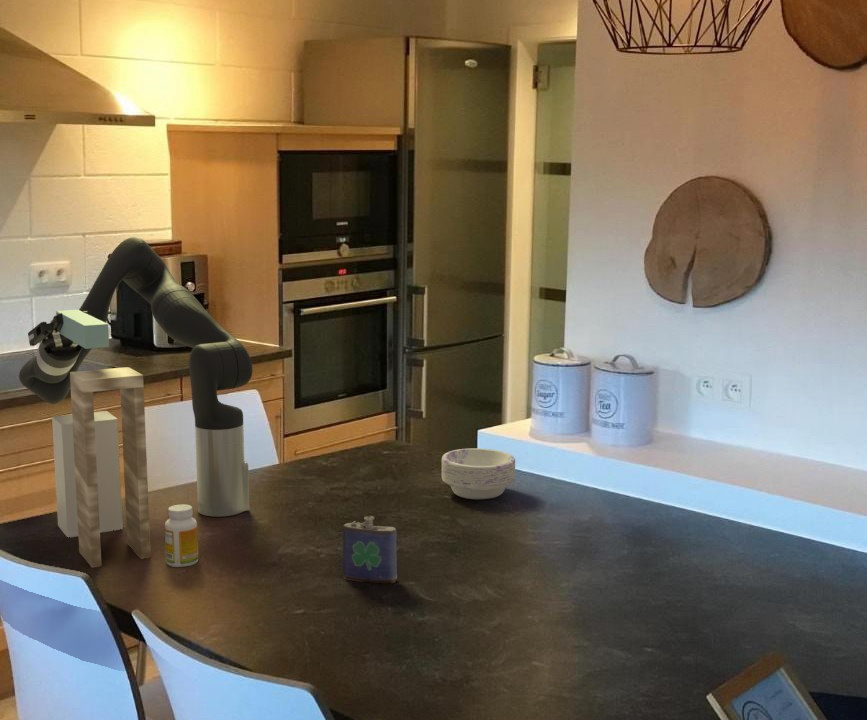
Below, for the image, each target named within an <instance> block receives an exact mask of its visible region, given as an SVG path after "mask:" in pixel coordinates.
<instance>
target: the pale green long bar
mask: <svg viewBox="0 0 867 720" xmlns="http://www.w3.org/2000/svg"><path fill="white" fill-rule="evenodd" d="M55 313H56V315H55V316H57V314H58V313H62V316H63V326H62V328H61V330H60V331H59V333H60V334H61V335H63V336H65V337H66V338H68V339H70V340H72V341H73V342H75V343H77V344H78V345H80V346H82V347H84V348H85V349H89V348H92V349H99V348H100V349H102V348H110V335H109V324H108V323H107V322H106V323H105V322H103V321H101V320H99V319H97V318H94V317H92V316H90V315H88V314H86V313H84V312H82V311H80V310H79V309H65V310H64V309H63V310H55Z"/></svg>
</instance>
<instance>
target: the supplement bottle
mask: <svg viewBox="0 0 867 720" xmlns="http://www.w3.org/2000/svg"><path fill="white" fill-rule="evenodd" d="M167 511H168V514H167V515H168V517H169V518H168V519H167V520H166V521H165V522H164V536H165V537H164V539H165V543H164V544H165V560H166V561H165V562H166V565H168V566H169V567H173V568H185V567H190V566H193V565H196V564H197V563H198V561H199V540H198V538H199V537H198V535H199V534H198V522H197V520H196V518H194V517H192V516H193V514H194V512H193V506H192V505H190V504H185V503H183V504H175V505H171V506H169V507H168V509H167Z"/></svg>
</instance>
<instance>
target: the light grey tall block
mask: <svg viewBox="0 0 867 720" xmlns="http://www.w3.org/2000/svg"><path fill="white" fill-rule="evenodd" d="M51 420H52V421H51V423H52V424H51V425H52V441H53V461H54V477H55V494H56V511H57V512H56V514H57V516H56V517H57V527H58V528H59V529H60V530H61V531H62V533H63V534H64V535H65V536H66V537H68V538H69V537H70V538H77V537H79V536H78V517H77V498H76V479H75V460H74V441H73V422H72V414H66V415H65V414H64V415H56V416H55V415H53V416H51ZM118 420H119V418H117V417H116V416H114V415H113V414H111V413H110V412H109V411H107V410H102V411H101V410H100V411H94V423H95V444H96V464H97V484H98V504H99V524H100V534H101V533H106V532H107V533H108V532H113V530H114V531H121V530H123V529H124V526H123V508H122V507H123V505H122V504H123V503H122V483H121V481H122V480H121V462H120V461H121V460H120V441H119V440H120V439H119V436H120V435H119V421H118ZM120 529H121V530H120ZM68 538H67V539H68Z"/></svg>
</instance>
